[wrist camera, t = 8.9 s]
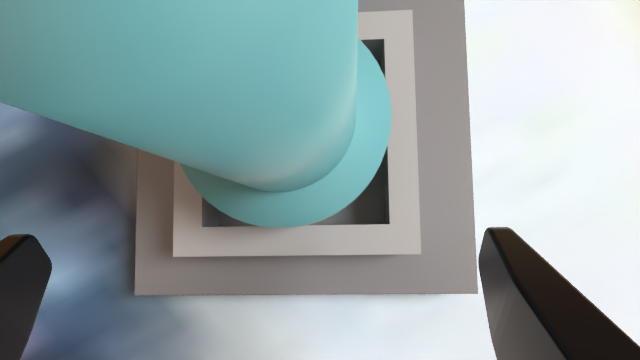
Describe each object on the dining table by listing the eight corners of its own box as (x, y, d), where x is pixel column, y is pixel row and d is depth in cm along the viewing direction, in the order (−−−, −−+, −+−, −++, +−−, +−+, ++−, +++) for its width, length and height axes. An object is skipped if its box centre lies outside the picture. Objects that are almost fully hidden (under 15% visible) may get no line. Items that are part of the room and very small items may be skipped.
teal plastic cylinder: (354, 247, 17) (354, 359, 3) (196, 198, 18) (-386, 110, 4) (401, 88, 17) (588, -439, 4) (246, 45, 18) (-112, -542, 4)
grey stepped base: (467, 287, 18) (526, 320, 12) (151, 289, 19) (57, 321, 13) (448, -132, 20) (491, -287, 14) (159, -112, 21) (79, -251, 15)
